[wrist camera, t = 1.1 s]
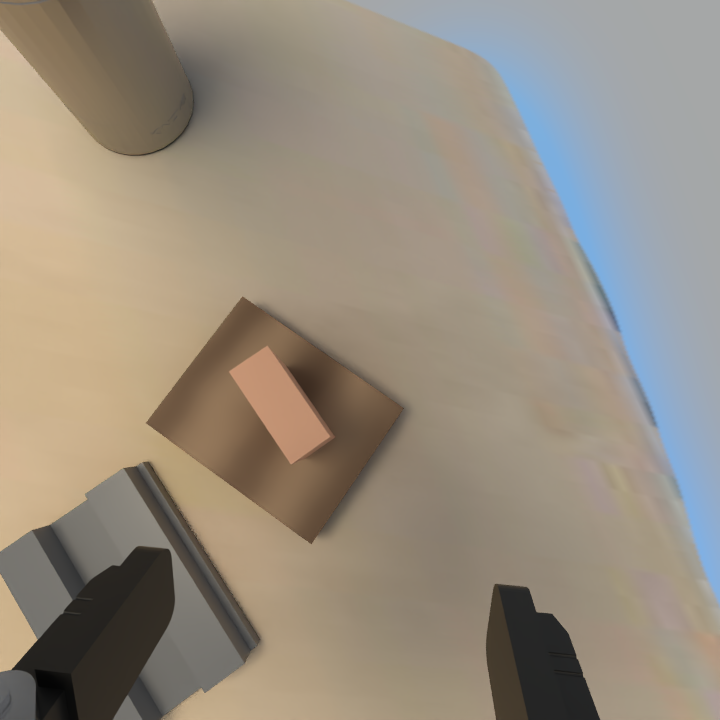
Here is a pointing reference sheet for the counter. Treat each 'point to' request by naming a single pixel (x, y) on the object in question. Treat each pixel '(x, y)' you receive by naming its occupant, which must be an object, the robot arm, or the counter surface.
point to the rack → (111, 547)
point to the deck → (252, 439)
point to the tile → (281, 405)
